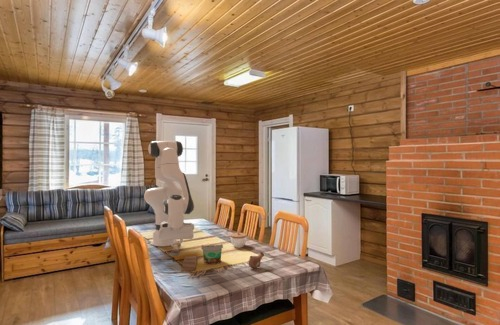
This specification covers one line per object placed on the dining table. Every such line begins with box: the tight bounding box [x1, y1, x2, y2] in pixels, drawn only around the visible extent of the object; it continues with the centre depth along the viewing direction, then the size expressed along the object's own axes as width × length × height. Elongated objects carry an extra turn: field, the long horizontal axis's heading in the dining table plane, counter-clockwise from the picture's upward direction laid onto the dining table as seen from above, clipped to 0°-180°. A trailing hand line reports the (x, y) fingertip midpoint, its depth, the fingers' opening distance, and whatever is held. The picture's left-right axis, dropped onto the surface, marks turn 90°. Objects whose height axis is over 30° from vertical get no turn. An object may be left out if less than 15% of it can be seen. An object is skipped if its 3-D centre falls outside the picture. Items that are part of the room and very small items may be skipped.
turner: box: [169, 240, 180, 256], centre depth 180 cm, size 16×4×3 cm, turn 7°
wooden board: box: [180, 256, 198, 272], centre depth 171 cm, size 20×7×1 cm, turn 7°
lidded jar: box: [230, 231, 248, 249], centre depth 205 cm, size 11×11×9 cm
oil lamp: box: [248, 251, 265, 269], centre depth 165 cm, size 9×4×8 cm, turn 112°
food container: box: [200, 243, 224, 265], centre depth 173 cm, size 12×6×10 cm, turn 105°
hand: (176, 246), depth 182 cm, fingers closed on turner, 2 cm apart
